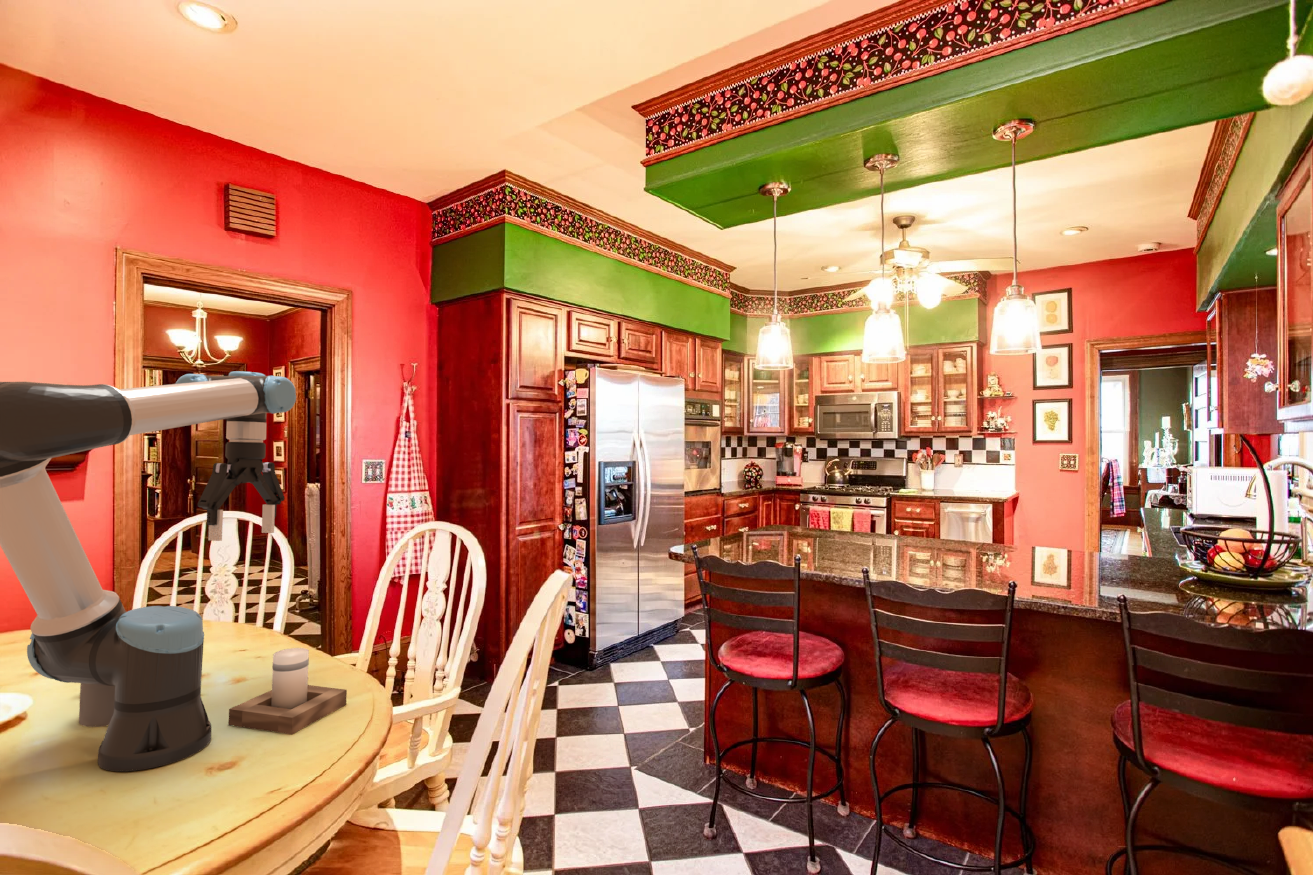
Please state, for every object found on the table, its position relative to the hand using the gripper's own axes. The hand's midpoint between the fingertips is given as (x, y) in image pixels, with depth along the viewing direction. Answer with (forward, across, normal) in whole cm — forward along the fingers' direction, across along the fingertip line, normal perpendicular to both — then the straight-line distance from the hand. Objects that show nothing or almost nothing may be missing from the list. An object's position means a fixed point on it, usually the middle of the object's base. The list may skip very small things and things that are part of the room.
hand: (242, 536), depth 141 cm
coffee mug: (+32, +20, -5) cm, 38 cm away
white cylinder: (+32, +12, +25) cm, 42 cm away
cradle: (+32, +12, +25) cm, 42 cm away
